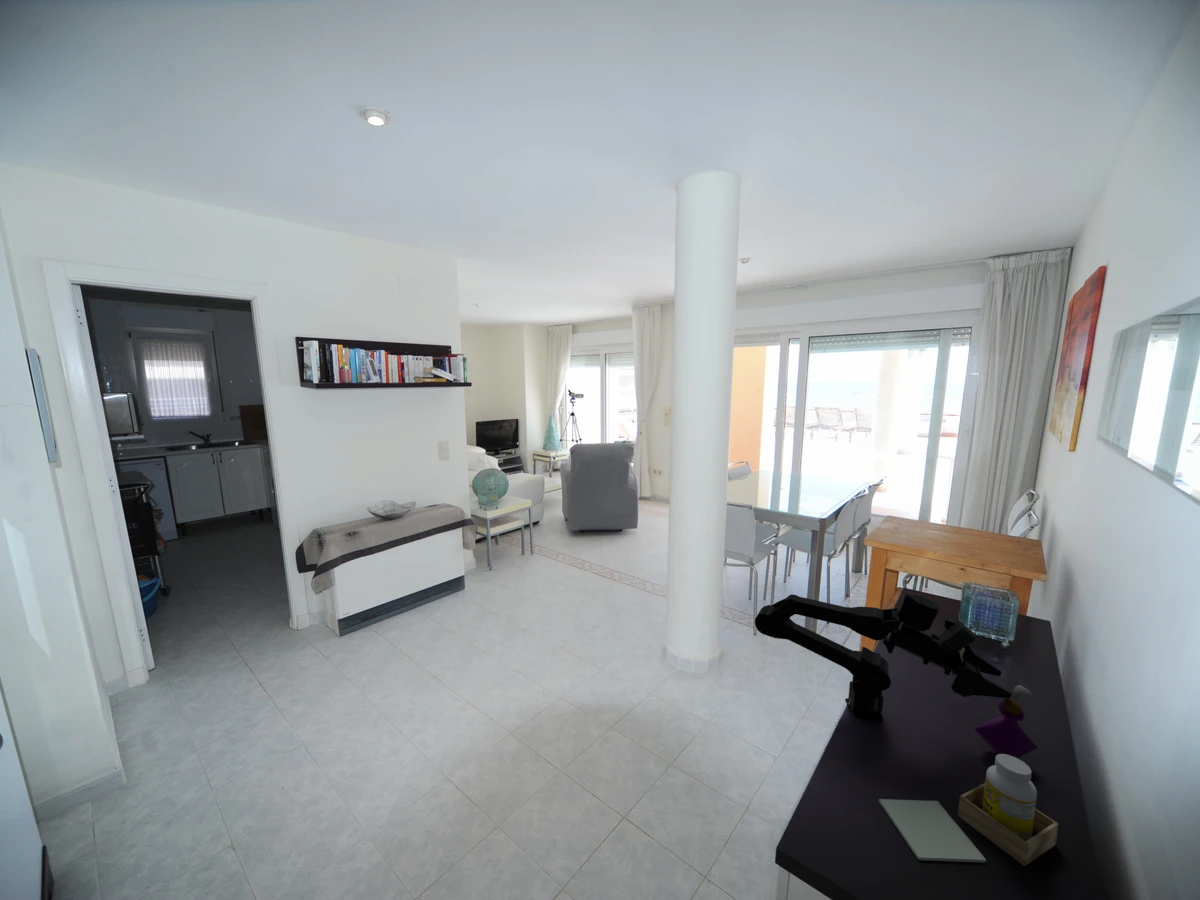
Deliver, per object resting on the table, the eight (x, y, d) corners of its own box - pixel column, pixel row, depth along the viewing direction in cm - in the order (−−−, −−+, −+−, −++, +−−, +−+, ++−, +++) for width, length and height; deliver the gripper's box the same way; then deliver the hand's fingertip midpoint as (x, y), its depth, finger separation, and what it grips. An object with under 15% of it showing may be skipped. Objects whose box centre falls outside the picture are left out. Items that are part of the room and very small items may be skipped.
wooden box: (1024, 866, 73) (1027, 844, 73) (957, 815, 82) (959, 795, 82) (1055, 844, 77) (1058, 823, 77) (988, 798, 86) (990, 779, 86)
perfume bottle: (1007, 770, 94) (1030, 714, 86) (971, 737, 100) (989, 682, 93) (1034, 757, 95) (1058, 700, 88) (996, 725, 102) (1016, 670, 94)
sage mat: (918, 860, 74) (919, 857, 74) (878, 801, 85) (879, 799, 85) (985, 862, 74) (986, 859, 74) (937, 803, 85) (937, 801, 85)
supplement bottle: (980, 806, 85) (987, 743, 83) (1028, 827, 80) (1037, 761, 79) (981, 832, 79) (989, 765, 78) (1032, 856, 75) (1042, 786, 74)
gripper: (941, 632, 94) (1036, 675, 86) (932, 600, 109) (1012, 634, 102) (918, 676, 96) (1009, 721, 89) (913, 639, 112) (990, 674, 104)
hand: (1005, 684), depth 96 cm, fingers open, 9 cm apart
